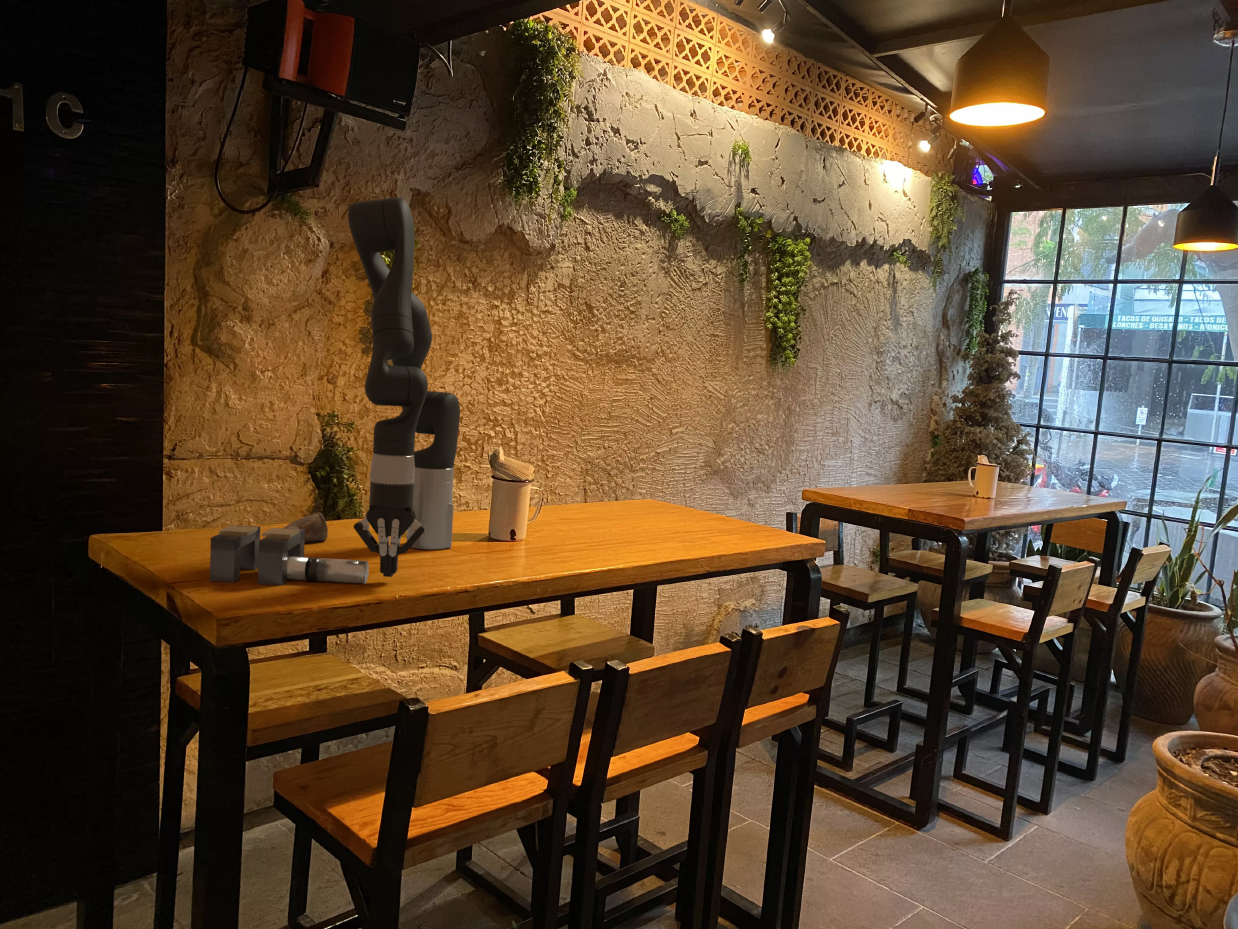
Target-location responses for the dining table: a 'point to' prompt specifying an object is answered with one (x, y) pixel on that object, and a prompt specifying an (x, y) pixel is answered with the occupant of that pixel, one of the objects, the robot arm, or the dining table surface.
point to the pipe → (312, 527)
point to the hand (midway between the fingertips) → (388, 575)
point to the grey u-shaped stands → (254, 553)
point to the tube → (327, 569)
